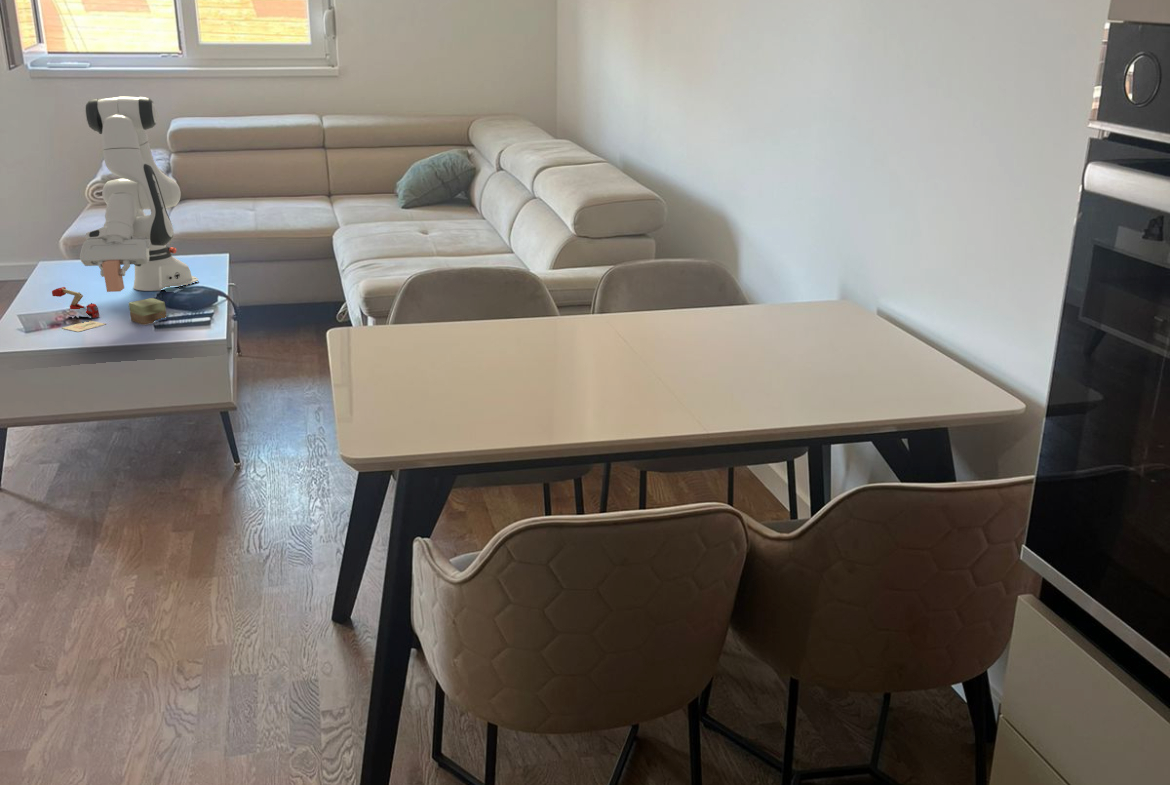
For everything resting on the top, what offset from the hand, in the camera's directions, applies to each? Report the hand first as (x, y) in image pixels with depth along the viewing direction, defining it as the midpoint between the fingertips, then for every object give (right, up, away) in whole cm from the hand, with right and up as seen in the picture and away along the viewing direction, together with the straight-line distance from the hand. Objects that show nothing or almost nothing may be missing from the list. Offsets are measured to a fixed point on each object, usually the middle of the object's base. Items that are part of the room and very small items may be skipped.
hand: (112, 275), depth 331 cm
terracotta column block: (0, -4, +2) cm, 5 cm away
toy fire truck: (-19, -12, +18) cm, 29 cm away
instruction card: (-12, -15, +8) cm, 21 cm away
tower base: (+5, -13, +14) cm, 20 cm away
